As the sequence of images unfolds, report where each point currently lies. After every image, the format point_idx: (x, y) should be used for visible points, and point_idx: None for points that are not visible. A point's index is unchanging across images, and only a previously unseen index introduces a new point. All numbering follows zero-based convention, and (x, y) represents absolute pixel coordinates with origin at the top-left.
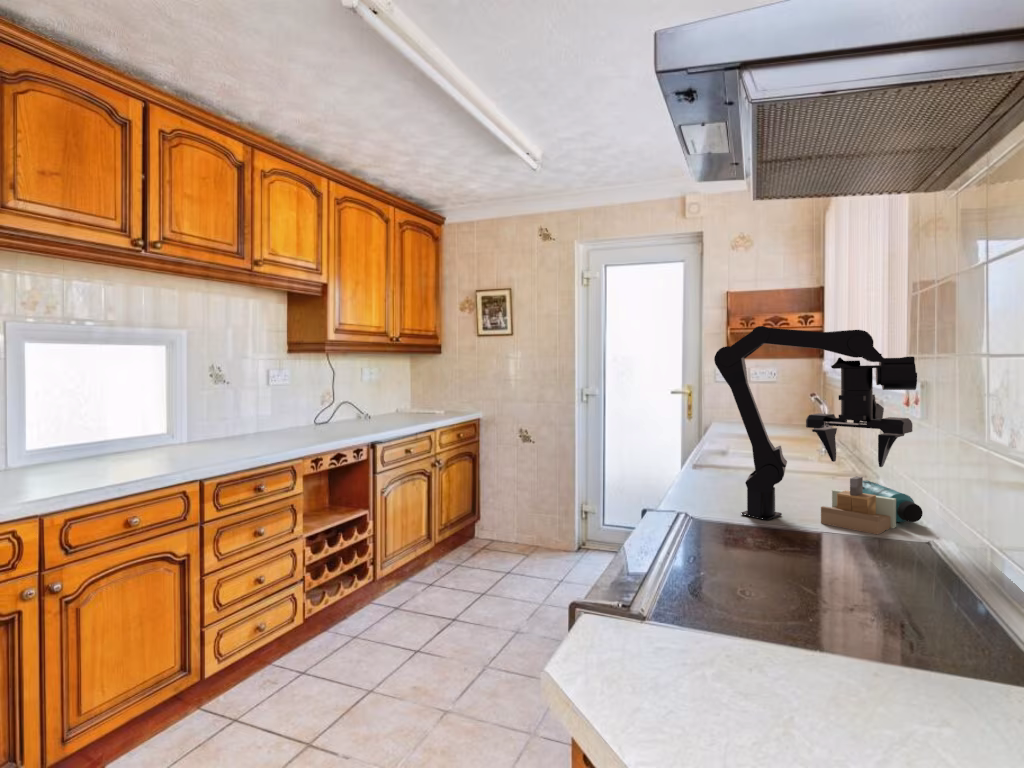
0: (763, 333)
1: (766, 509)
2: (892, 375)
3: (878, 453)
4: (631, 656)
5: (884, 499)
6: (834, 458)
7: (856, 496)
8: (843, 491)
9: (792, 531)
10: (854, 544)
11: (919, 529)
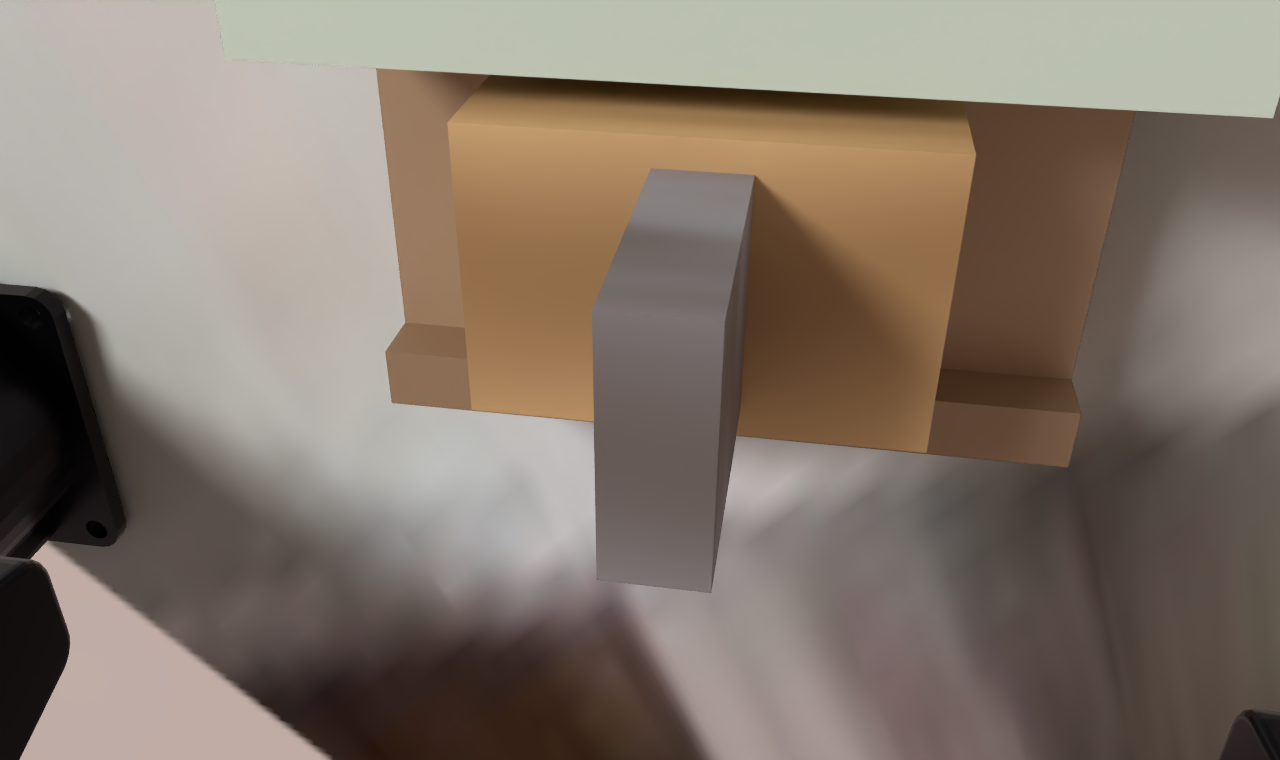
0: None
1: (22, 536)
2: None
3: None
4: None
5: (1110, 99)
6: (14, 679)
7: (754, 434)
8: (465, 218)
9: (442, 672)
10: (937, 725)
11: None
